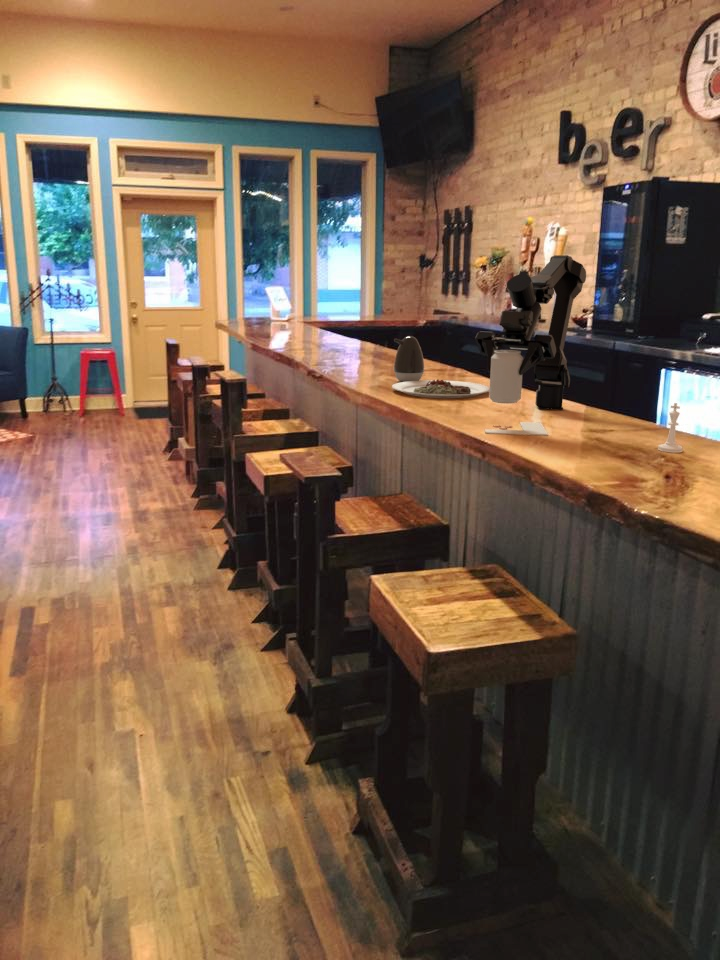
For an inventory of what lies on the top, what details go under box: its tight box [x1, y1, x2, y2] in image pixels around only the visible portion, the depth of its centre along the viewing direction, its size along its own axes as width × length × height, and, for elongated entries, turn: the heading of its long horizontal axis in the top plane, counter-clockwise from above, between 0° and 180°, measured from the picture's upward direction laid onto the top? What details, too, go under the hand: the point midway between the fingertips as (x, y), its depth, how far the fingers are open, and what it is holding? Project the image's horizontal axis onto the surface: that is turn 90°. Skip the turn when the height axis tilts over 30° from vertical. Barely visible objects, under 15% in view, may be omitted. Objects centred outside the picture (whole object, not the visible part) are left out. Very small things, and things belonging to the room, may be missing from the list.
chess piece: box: [657, 402, 684, 454], centre depth 162 cm, size 5×5×10 cm
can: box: [488, 349, 524, 404], centre depth 182 cm, size 8×8×12 cm
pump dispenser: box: [393, 335, 425, 382], centre depth 258 cm, size 10×10×15 cm
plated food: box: [391, 378, 490, 399], centre depth 238 cm, size 30×30×3 cm
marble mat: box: [484, 421, 549, 436], centre depth 184 cm, size 14×14×1 cm
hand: (504, 372), depth 181 cm, fingers closed on can, 7 cm apart
